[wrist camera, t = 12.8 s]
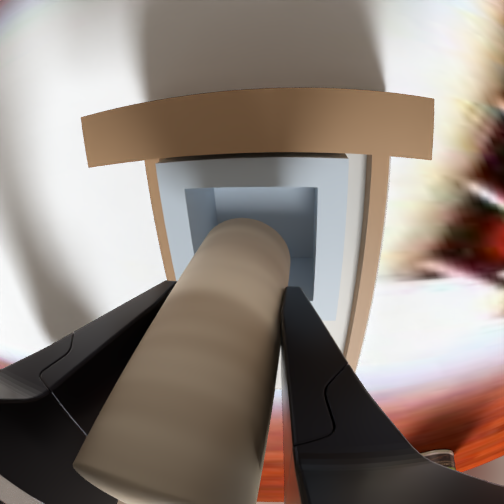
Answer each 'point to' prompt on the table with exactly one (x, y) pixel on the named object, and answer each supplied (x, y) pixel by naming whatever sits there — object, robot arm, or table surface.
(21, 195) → the table surface
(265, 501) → the table surface
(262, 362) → the dowel
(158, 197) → the tan wooden u-shaped frame
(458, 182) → the table surface
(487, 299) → the table surface
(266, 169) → the block
